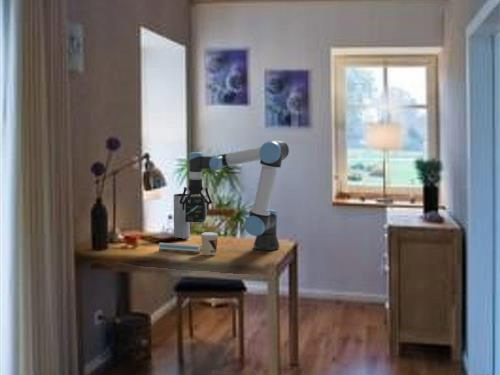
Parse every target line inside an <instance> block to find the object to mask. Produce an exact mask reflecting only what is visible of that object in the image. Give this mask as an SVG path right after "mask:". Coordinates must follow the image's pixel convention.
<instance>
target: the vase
mask: <svg viewBox="0 0 500 375" xmlns="http://www.w3.org/2000/svg"><path fill="white" fill-rule="evenodd" d="M182 194H183V193H175V194H173V237H174V236H175V237H178V238H182V239H183V240H184V239H189V238H190V237H191V225H190V224H191V222H185V216H184V210H183V209H182V204H180V203H179V201H180V199H181V196H182ZM188 194H189V193H185V195H184V198H183V200H182V202H183V201H184V200H185V198H186V197H187V196H188ZM182 239H181V240H182Z"/></svg>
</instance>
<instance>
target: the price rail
mask: <svg viewBox="0 0 500 375" xmlns="http://www.w3.org/2000/svg"><path fill="white" fill-rule="evenodd" d="M199 246H200V244H199V245H198V244H197V245H196V244H185V243H171V242H169V243H168V242H159V243H158V250H159V249H172V250H186V251H199Z"/></svg>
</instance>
